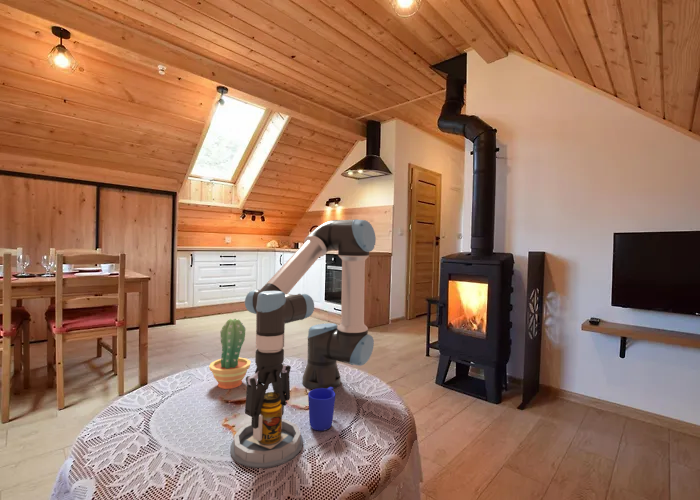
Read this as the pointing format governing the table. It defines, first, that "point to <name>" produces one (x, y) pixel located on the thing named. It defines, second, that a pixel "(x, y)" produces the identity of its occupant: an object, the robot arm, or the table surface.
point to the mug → (321, 408)
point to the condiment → (270, 421)
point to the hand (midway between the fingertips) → (267, 432)
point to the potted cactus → (231, 356)
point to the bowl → (263, 456)
